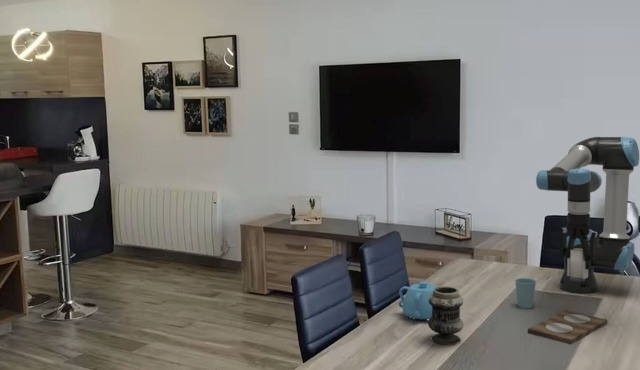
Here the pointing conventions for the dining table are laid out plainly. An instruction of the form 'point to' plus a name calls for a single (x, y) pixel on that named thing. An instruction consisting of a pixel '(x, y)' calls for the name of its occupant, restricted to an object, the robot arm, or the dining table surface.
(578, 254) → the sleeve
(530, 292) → the cup
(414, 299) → the decorative pot
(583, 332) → the seat board
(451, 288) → the apothecary jar
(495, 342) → the dining table surface
